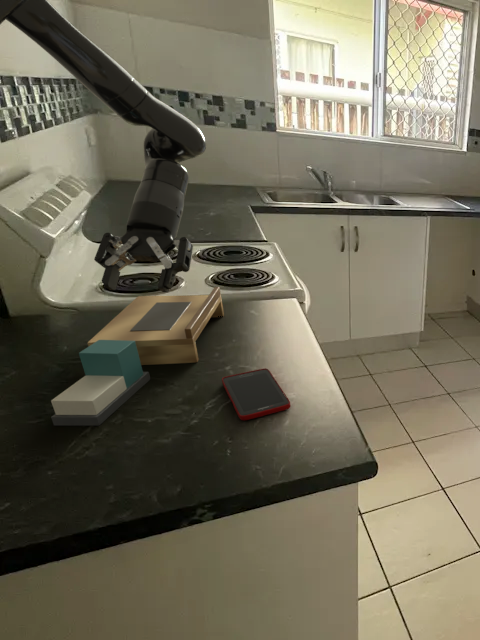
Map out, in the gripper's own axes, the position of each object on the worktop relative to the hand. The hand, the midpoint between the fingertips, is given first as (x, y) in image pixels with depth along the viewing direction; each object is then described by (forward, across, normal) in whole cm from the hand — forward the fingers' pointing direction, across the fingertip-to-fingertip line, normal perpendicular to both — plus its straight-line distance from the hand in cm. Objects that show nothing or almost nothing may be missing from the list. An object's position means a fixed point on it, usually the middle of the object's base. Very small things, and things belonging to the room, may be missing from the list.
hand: (136, 289), depth 83 cm
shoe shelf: (+3, -2, +17) cm, 18 cm away
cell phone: (+19, +22, +2) cm, 29 cm away
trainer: (+20, 0, 0) cm, 20 cm away
